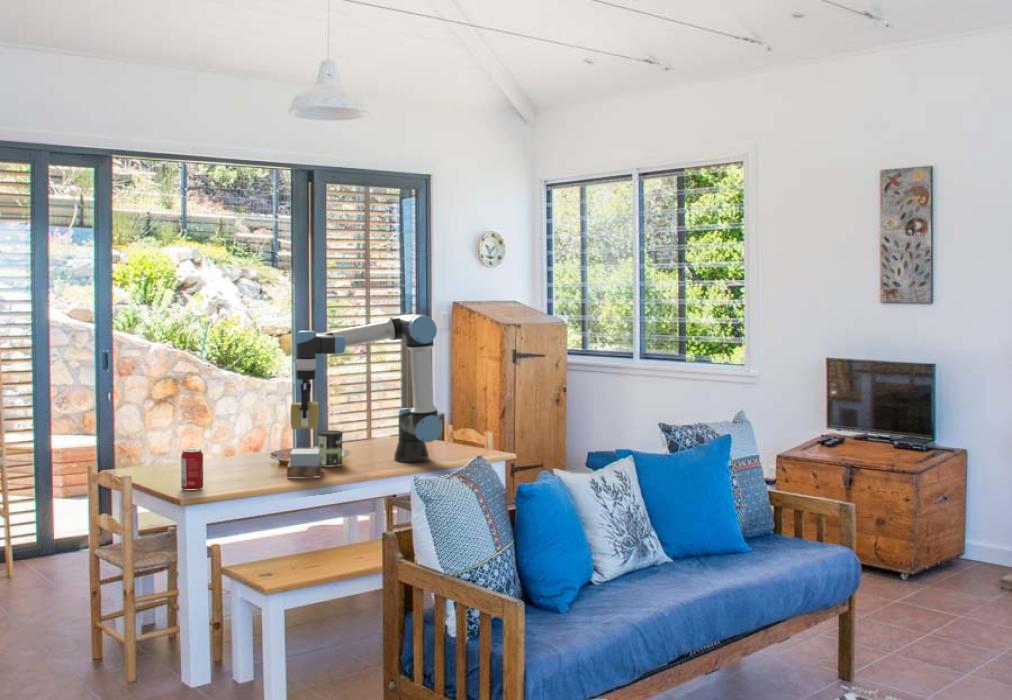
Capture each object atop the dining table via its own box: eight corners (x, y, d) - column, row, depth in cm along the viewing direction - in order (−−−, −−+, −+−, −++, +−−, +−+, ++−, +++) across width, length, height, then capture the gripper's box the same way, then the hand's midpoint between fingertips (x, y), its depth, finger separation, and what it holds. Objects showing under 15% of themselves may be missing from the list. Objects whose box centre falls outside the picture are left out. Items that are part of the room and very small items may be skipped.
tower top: (319, 460, 416) (319, 448, 416) (318, 466, 405) (318, 453, 405) (292, 461, 415) (292, 449, 414) (290, 466, 404) (290, 454, 404)
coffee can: (345, 463, 436) (346, 430, 435) (337, 467, 426) (337, 434, 424) (323, 461, 438) (323, 429, 437) (313, 466, 428) (314, 433, 427)
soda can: (177, 491, 376) (177, 451, 375) (187, 486, 384) (187, 447, 383) (197, 492, 375) (197, 452, 374) (206, 487, 383) (206, 448, 382)
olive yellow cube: (293, 425, 414) (293, 400, 413) (320, 425, 415) (320, 401, 414) (290, 429, 403) (290, 404, 403) (317, 429, 404) (317, 404, 403)
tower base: (321, 472, 418) (321, 460, 417) (320, 479, 405) (320, 466, 404) (289, 472, 416) (289, 460, 415) (287, 479, 403) (287, 466, 403)
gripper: (298, 366, 418) (297, 419, 420) (294, 372, 395) (293, 428, 397) (316, 366, 419) (316, 420, 421) (314, 372, 397) (313, 428, 398)
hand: (305, 424), depth 409 cm, fingers closed on olive yellow cube, 10 cm apart
